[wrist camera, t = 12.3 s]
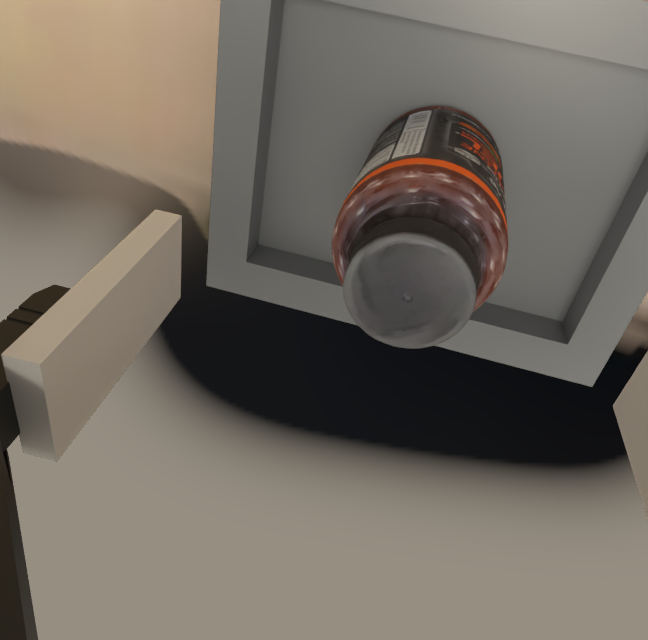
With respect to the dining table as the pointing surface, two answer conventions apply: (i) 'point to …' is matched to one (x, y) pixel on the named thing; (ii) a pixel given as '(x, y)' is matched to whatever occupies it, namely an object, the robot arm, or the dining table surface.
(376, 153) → the supplement bottle
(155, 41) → the dining table surface
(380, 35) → the tray
